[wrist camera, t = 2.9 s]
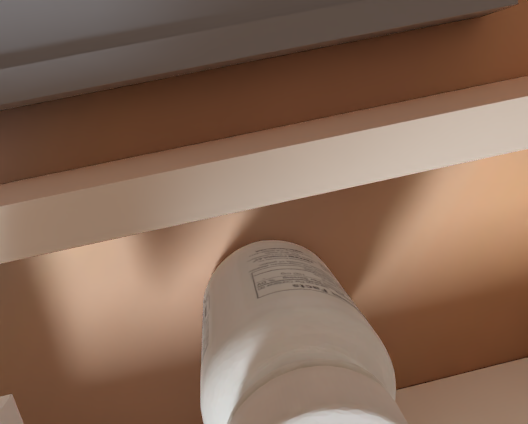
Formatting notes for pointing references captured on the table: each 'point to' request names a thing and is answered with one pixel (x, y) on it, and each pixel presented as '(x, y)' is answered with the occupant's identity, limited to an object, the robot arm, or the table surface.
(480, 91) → the cream storage bin
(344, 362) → the pill bottle
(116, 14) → the tray
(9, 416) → the robot arm
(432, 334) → the table surface
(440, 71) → the table surface
